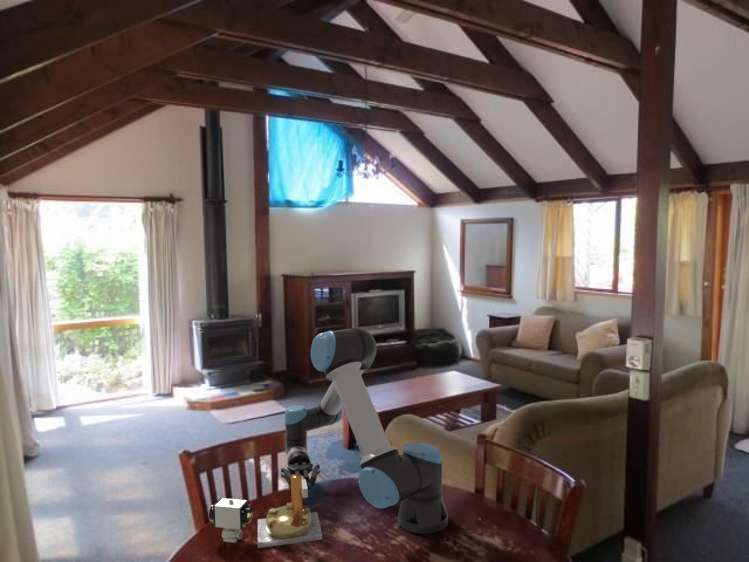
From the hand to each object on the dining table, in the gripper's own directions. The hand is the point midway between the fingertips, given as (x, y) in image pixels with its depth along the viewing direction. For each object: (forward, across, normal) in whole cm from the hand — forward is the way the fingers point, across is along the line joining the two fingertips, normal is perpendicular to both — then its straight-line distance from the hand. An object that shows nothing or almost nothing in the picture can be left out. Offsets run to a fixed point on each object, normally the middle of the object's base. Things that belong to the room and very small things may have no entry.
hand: (305, 493), depth 153 cm
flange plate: (0, +5, -11) cm, 12 cm away
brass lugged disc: (0, +5, -10) cm, 11 cm away
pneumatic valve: (-1, +21, -12) cm, 24 cm away
